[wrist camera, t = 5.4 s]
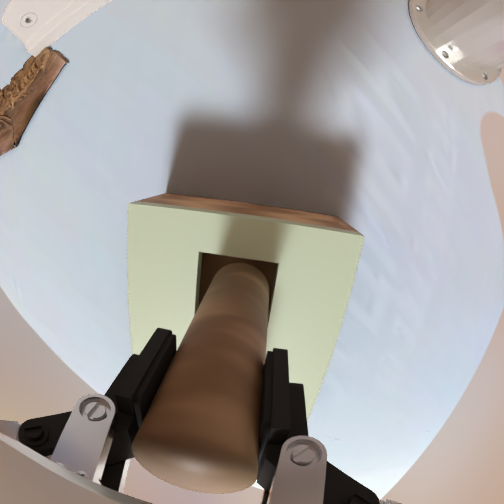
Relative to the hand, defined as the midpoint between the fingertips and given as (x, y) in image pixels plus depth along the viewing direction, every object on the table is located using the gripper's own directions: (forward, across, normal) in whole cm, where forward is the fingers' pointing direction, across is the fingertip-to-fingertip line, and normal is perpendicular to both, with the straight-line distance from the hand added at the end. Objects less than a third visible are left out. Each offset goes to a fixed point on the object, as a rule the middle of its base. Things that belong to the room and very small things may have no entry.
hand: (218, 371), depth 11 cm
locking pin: (+8, 0, 0) cm, 8 cm away
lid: (+9, 0, +7) cm, 11 cm away
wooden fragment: (+16, +34, -12) cm, 39 cm away
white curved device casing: (+16, +23, -27) cm, 39 cm away
